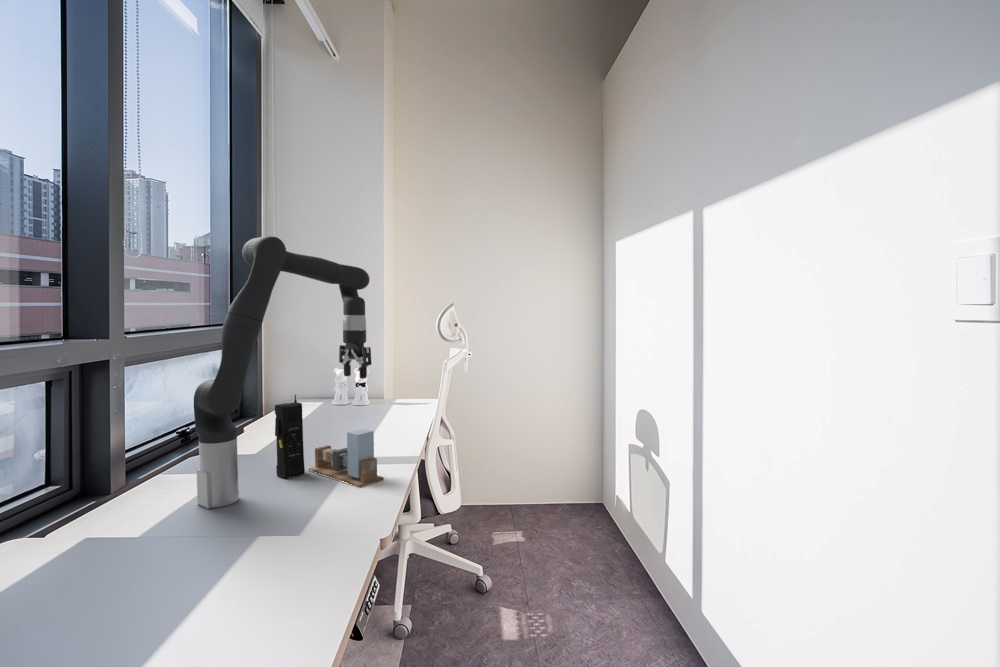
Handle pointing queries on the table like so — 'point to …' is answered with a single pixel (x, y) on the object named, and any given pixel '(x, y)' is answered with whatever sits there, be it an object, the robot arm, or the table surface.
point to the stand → (342, 475)
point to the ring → (338, 459)
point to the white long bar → (328, 457)
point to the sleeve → (359, 449)
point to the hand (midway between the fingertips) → (355, 377)
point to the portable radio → (289, 439)
